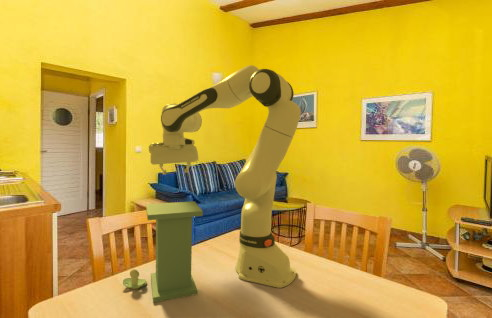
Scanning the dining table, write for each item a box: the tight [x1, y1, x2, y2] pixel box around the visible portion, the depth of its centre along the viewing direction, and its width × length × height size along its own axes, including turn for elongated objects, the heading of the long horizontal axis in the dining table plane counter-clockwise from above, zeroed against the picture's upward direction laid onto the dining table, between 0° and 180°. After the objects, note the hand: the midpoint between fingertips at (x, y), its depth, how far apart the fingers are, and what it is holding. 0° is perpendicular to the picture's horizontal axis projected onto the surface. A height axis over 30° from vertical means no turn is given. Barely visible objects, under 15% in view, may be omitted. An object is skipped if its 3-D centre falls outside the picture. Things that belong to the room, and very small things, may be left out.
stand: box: [145, 200, 204, 303], centre depth 89 cm, size 15×16×26 cm
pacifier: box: [122, 268, 148, 290], centre depth 89 cm, size 7×6×6 cm
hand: (175, 173), depth 120 cm, fingers open, 8 cm apart
